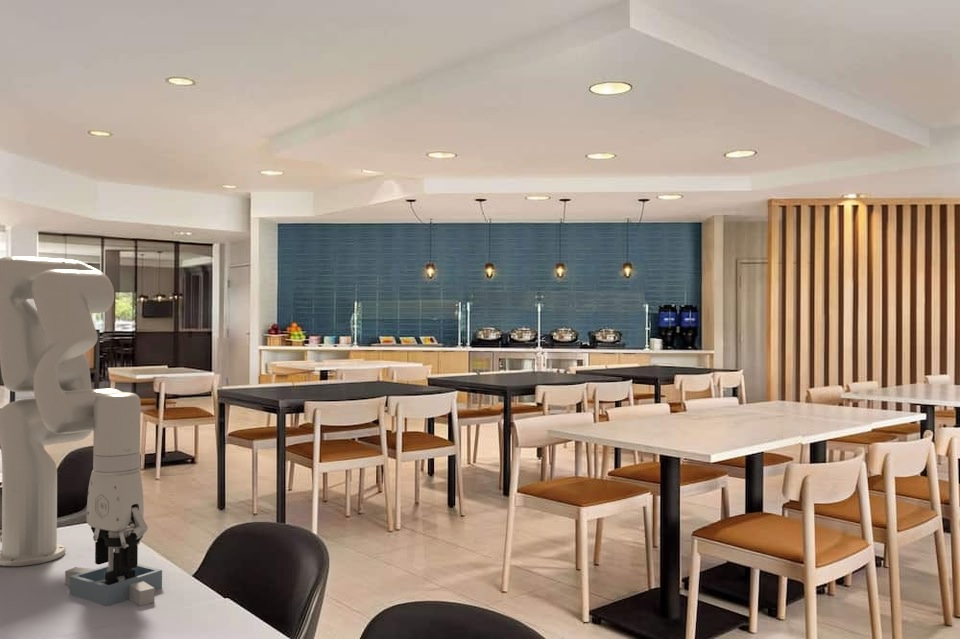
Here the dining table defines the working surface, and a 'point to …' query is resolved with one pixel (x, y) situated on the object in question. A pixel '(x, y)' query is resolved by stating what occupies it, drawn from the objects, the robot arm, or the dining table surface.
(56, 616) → the dining table surface
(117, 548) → the push button
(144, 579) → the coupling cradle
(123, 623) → the dining table surface
